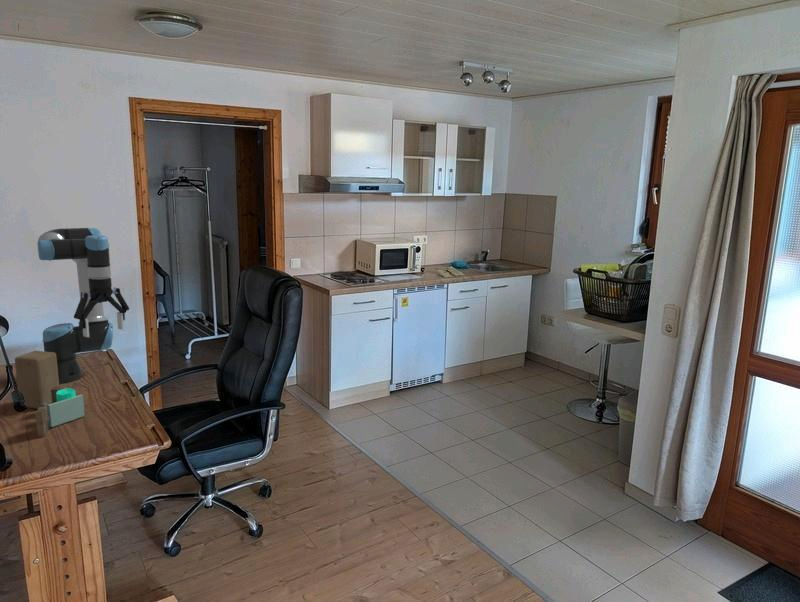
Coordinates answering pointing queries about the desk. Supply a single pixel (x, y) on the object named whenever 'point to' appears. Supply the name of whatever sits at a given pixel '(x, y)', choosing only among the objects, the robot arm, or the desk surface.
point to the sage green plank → (66, 410)
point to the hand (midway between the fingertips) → (104, 332)
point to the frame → (45, 414)
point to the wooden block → (37, 377)
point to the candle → (65, 394)
